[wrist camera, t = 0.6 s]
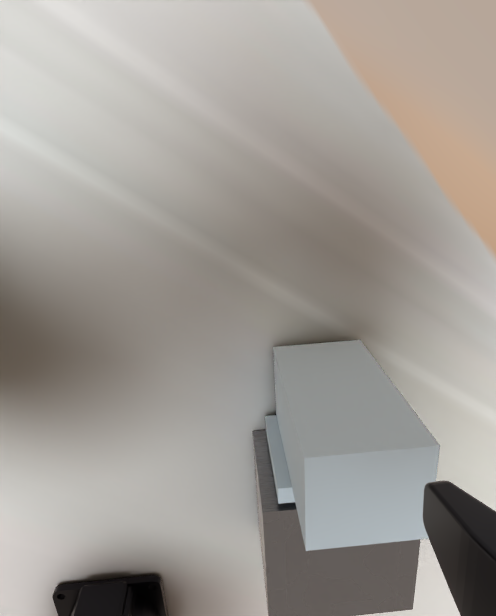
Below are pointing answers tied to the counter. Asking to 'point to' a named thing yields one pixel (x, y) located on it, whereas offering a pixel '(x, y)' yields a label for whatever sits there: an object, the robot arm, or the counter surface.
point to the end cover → (347, 447)
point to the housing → (325, 562)
